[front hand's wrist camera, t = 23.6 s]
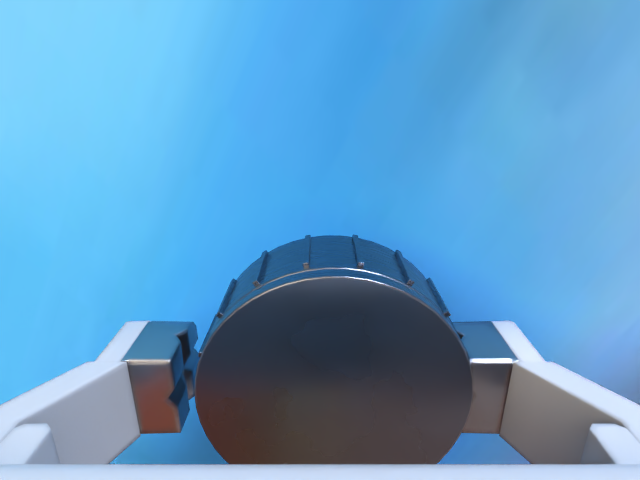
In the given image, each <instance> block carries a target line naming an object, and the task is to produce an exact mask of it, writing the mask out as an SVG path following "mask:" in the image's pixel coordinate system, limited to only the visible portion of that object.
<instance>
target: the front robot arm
mask: <svg viewBox="0 0 640 480" xmlns="http://www.w3.org/2000/svg"><path fill="white" fill-rule="evenodd" d="M452 324H453V326H454V327H455V329H456V331H457V333H458V335H459V337H460V339H461V341H462V342H463V344H464V346H465V348H466V350H467V352H468V356H467V357H468V360H469V363H470V367H471V373H472V379H473V395H472V401H471V408H470V412H469V415H468V418H467V421H466V424H465V426H464V428H463V430H462V432H461V433H491V434H500V435H499V436H500V437H502V438H503V439H504V440H505V441H506V442H507V443H508V444H510V445H511V446H512V447H513V448H514V449H515V450H516V451H517V452H519V453H520V454H521V455H522V456H523V457H524V458H525V459H527V460H528V461H529V462H530V463H531V464H109V463H110V462H111V461H112V460H114V459H115V458H116V457H117V456H118V455H119V454H120V453H122V452H123V451H124V450H125V449H126V448H127V447H128V446H129V445H131V444H132V443H133V442H134V441H135V440H136V439H137V438H139V437H140V434H148V433H181V430H182V428H183V425H184V423H185V420H186V418H187V415H188V413H189V410H190V408H189V400H190V399H191V398H192V397H194V396H195V394H194V389H195V375H196V370H197V366H198V362H199V359H200V357H198V354H199V353H198V352H197V351H196V350H195V349H194V346H195V344H196V342H197V339H198V335H197V329H196V325H195V324H194V322H175V321H129V322H126V323H125V324H124V325H123V326H122V328H121V329H120V330H119V331H118V333H117V334H116V335H115V336H114V338H113V339H112V340H111V341H110V343H109V344H108V345H107V346H106V348H105V349H104V350H103V351H102V353H101V354H100V355H99V356H98V358H97V359H96V360H95V361H94V362H86V363H84V364H82V365H80V366H78V367H76V368H74V369H72V370H70V371H68V372H66V373H64V374H62V375H60V376H58V377H56V378H54V379H52V380H49V381H47V382H45V383H43V384H41V385H39V386H37V387H35V388H33V389H31V390H29V391H27V392H25V393H23V394H21V395H19V396H17V397H15V398H13V399H11V400H9V401H7V402H5V403H3V404H1V405H0V480H640V405H639V404H637V403H635V402H633V401H631V400H628V399H626V398H624V397H622V396H620V395H618V394H616V393H614V392H612V391H610V390H608V389H606V388H604V387H602V386H600V385H598V384H596V383H594V382H592V381H590V380H588V379H586V378H584V377H582V376H580V375H578V374H576V373H574V372H572V371H570V370H568V369H566V368H564V367H562V366H560V365H558V364H556V363H554V362H546V361H545V360H544V359H543V358H542V356H541V355H540V354H539V353H538V351H537V350H536V349H535V348H534V347H533V345H532V344H531V343H530V342H529V340H528V339H527V338H526V337H525V335H524V334H523V333H522V332H521V330H520V329H519V328H518V327H517V325H516V324H515V323H514V322H512V321H483V322H452Z"/></svg>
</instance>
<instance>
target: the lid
mask: <svg viewBox="0 0 640 480" xmlns="http://www.w3.org/2000/svg"><path fill="white" fill-rule="evenodd" d="M450 315H451V314H450V313H449V311H448V309H447V307H446V305H445V304H444V302H443V300H442V298H441V296H440V294H439V293H438V291H437V289H436V287H435V285H434V283H433V282H432V280H431V279H430V278H428V279H427V280H426V278H425V277H424V276H423V274H422V273H421V272H420V271H419V270H418V269H417V268H416V267H415V266H414V265H413V264H412V263H410V262H409V261H408V260H406V259H405V258H404V257H403V256H402V254H401V252H400V251H398V250H396V251H395V252H394V251H392V250H390V249H389V248H387V247H384V246H382V245H379V244H377V243H374V242H371V241H367V240H364V239H360V238H358V236H357V235H353V236H352V237H347V236H317V237H311V236H310V235H307V236H305V239H301V240H296V241H293V242H290V243H287V244H285V245H282V246H280V247H277V248H275V249H274V250H272V251H270V252H267V251H264V252H263V253H262V255H261V257H260V258H259V259H257V260H256V261H255V262H253V263H252V264H251V265H250V266H249V267H248V268H247V269H246V270H245V271H244V272H243V273H242V274H241V275H240V276H239V277H238V279H237V280H235V279H233V280H232V281H231V283H230V285H229V287H228V289H227V292H226V294H225V296H224V298H223V301H222V303H221V305H220V308H219V310H218V312H217V314H216V315H215V317H214V319H213V322H212V324H211V326H210V328H209V331H208V333H207V335H206V337H205V340H204V342H203V344H202V346H201V349H200V351H199V354H198V357H200V359H199V362H198V366H197V370H196V375H195V389H194V394H195V402H196V409H197V413H198V416H199V420H200V423H201V425H202V427H203V429H204V432H205V434H206V436H207V437H208V439H209V440H210V442H211V444H212V445H213V447H214V448H215V449H216V451H217V452H218V453H219V454H220V455H221V456H222V458H223V459H224V460H225V461H226V462H228V463H229V464H437V463H438V462H439V461H440V460H441V459H442V458H443V457H444V456H445V455H446V454H447V453H448V451H449V450H450V449H451V448H452V446H453V445H454V443H455V442H456V441H457V439H458V438H459V436H460V434H461V432H462V430H463V428H464V426H465V424H466V421H467V418H468V415H469V412H470V408H471V401H472V395H473V379H472V373H471V367H470V363H469V360H468V357H467V356H468V352H467V350H466V348H465V346H464V344H463V342H462V341H461V339H460V337H459V335H458V333H457V331H456V329H455V327H454V326H453V324H452V322H451V320H450V318H449V316H450Z"/></svg>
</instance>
